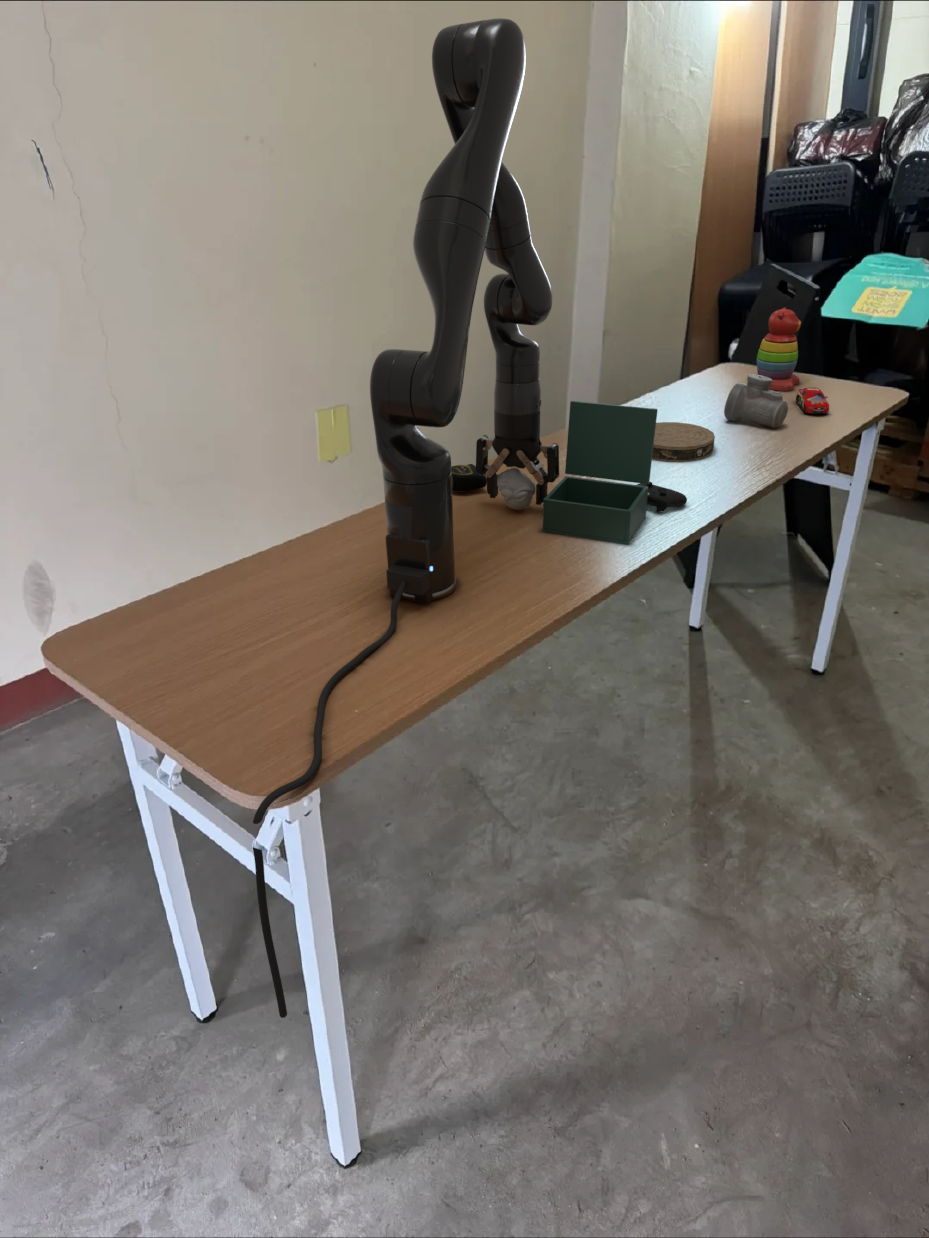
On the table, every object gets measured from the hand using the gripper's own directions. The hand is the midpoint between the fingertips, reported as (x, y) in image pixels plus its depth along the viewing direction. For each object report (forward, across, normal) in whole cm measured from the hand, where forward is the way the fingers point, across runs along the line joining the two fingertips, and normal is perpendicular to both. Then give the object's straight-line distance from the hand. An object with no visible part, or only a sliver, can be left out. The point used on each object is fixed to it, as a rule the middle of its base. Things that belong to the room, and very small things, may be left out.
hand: (516, 500), depth 148 cm
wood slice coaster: (+2, +18, +40) cm, 44 cm away
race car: (+2, +41, +78) cm, 88 cm away
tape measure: (+2, -12, +6) cm, 14 cm away
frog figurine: (+2, 0, 0) cm, 2 cm away
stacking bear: (+2, +31, +96) cm, 101 cm away
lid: (-10, +14, +4) cm, 18 cm away
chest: (+2, +14, -2) cm, 15 cm away
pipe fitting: (+2, +31, +62) cm, 69 cm away
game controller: (+2, +21, +10) cm, 24 cm away
